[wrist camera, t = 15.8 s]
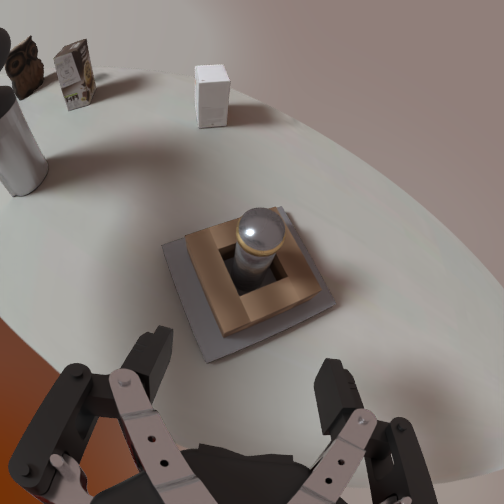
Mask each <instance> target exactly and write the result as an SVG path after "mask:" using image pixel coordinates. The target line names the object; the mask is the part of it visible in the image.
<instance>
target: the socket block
mask: <svg viewBox="0 0 504 504" xmlns="http://www.w3.org/2000/svg"><path fill="white" fill-rule="evenodd" d="M269 209H270V210H272V211H274V212H276V213H277V214H278V215H279V216H280V217H281V215H280V213H279V211H278V210H277V208H276V207H273V208H269ZM240 218H241V217H240ZM240 218H237V219H234V220H231V221H228V222H225V223H222V224H219V225H215V226H212V227H209V228H206V229H203V230H200V231H197V232H194V233H191V234H188V235H185V240H186V246H187V251H188V254H189V256H190V259H191V262H192V264H193V267H194V269H195V272H196V274H197V277H198V279H199V282H200V284H201V287H202V289H203V292H204V294H205V297H206V299H207V301H208V304H209V306H210V309H211V311H212V313H213V316H214V318H215V320H216V323H217V325H218V327H219V330H220V332H221V334H222V336H223V338H224V337H227V336H229V335H232V334H234V333H237V332H239V331H242V330H244V329H246V328H249V327H251V326H253V325H256V324H258V323H260V322H263V321H265V320H267V319H269V318H272V317H274V316H276V315H278V314H281V313H283V312H285V311H287V310H289V309H292V308H294V307H296V306H298V305H300V304H302V303H304V302H307V301H309V300H311V299H312V298H313V297H314V296H315V295H317V294H318V293H319V292H320V291H321V290H322V289H321V287H320V285H319V283H318V281H317V279H316V278H315V276H314V274H313V272H312V270H311V268H310V266H309V265H308V263H307V261H306V259H305V257H304V256H303V254H302V252H301V250H300V248H299V247H298V245H297V243H296V241H295V239H294V238H293V236H292V234H291V232H290V231H289V229H288V227H287V225H286V224H285V222H284V220H283V218H282V217H281V218H282V220H283V222H284V224H285V229H286V237H285V240H284V243H283V245H282V247H281V248H280V249H279V251H277V252H276V254H275V256H274V259H273V261H272V263H271V265H270V269H271V271H272V273H273V275H274V277H275V279H276V282H274V283H272V284H269V285H267V286H264V287H262V288H259V289H257V290H254V291H252V292H249V293H247V294H244V295H242V296H239V295H238V293H237V290H236V288H235V286H234V284H233V282H232V279H231V277H230V275H229V273H228V270H227V268H226V266H225V264H224V261H225V260H227V259H230V258H233V257H234V255H235V248H236V242H237V239H236V228H237V223H238V221H239V219H240Z"/></svg>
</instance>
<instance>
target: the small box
mask: <svg viewBox="0 0 504 504" xmlns="http://www.w3.org/2000/svg"><path fill="white" fill-rule="evenodd" d="M230 82H231V81H230V79H229V76H228V74H227V72H226V69H225V67H224V65H202V66H195V109H196V115H197V121H198V127H199V128H206V127H216V126H226V125H227V115H228V104H229V92H230Z"/></svg>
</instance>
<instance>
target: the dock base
mask: <svg viewBox="0 0 504 504" xmlns="http://www.w3.org/2000/svg"><path fill="white" fill-rule="evenodd" d="M277 210H278V211H279V213H280V215H281V217H282V218H283V220H284V222H285V224H286V225H287V227H288V229H289V231H290V232H291V234H292V236H293V238H294V239H295V241H296V243H297V245H298V247H299V248H300V250H301V252H302V254H303V256H304V257H305V259H306V261H307V263H308V265H309V266H310V268H311V270H312V272H313V274H314V276H315V278H316V279H317V281H318V283H319V285H320V287H321V289H322V290H321V291H320V292H319V293H318V294H317V295H315V296H314V297H313V298H312V299H311V300H309V301H307V302H304V303H302V304H300V305H298V306H296V307H294V308H292V309H289V310H287V311H285V312H283V313H281V314H278V315H276V316H274V317H272V318H269V319H267V320H265V321H263V322H260V323H258V324H256V325H253V326H251V327H249V328H246V329H244V330H242V331H239V332H237V333H234V334H232V335H229V336H227V337H224V338H223V336H222V334H221V332H220V330H219V327H218V325H217V323H216V320H215V318H214V316H213V313H212V311H211V309H210V306H209V304H208V301H207V299H206V297H205V294H204V292H203V289H202V287H201V284H200V282H199V279H198V277H197V274H196V272H195V269H194V267H193V264H192V262H191V259H190V256H189V254H188V251H187V246H186V240H185V237H184V238H181V239H178V240H176V241H173V242H170V243H167V244H164V245H161V246H162V249H163V252H164V255H165V258H166V261H167V264H168V267H169V270H170V273H171V275H172V278H173V281H174V284H175V287H176V289H177V292H178V295H179V297H180V300H181V303H182V305H183V308H184V311H185V313H186V316H187V318H188V321H189V323H190V326H191V328H192V331H193V333H194V336H195V338H196V341H197V343H198V345H199V348H200V350H201V352H202V355H203V357H204V359H205V362H206V363H209V362H212V361H214V360H217V359H219V358H222V357H224V356H227V355H229V354H232V353H234V352H237V351H239V350H241V349H244V348H246V347H248V346H251V345H253V344H255V343H257V342H260V341H262V340H264V339H266V338H269V337H271V336H273V335H275V334H277V333H280V332H282V331H284V330H286V329H288V328H290V327H292V326H294V325H296V324H298V323H300V322H303V321H305V320H307V319H309V318H311V317H313V316H315V315H317V314H318V313H320V312H322V311H324V310H326V309H328V308H330V307H332V306H333V305H335V304H336V302H335V300H334V299H333V297H332V295H331V293H330V291H329V289H328V287H327V285H326V283H325V282H324V280H323V278H322V276H321V274H320V272H319V271H318V269H317V267H316V265H315V263H314V262H313V260H312V258H311V256H310V254H309V253H308V251H307V249H306V247H305V245H304V244H303V242H302V240H301V238H300V237H299V235H298V233H297V231H296V230H295V228H294V226H293V225H292V223H291V221H290V219H289V218H288V216H287V214H286V213H285V211H284V209H283V208H282V206H281V207H277ZM233 261H234V257H233V258H230V259H227V260H225V261H224V264H225V266H226V268H227V270H228V273H229V275H230V277H231V274H232V267H233ZM231 279H232V278H231ZM232 282H233V281H232ZM274 282H276V279H275V277H274V275H273V273H272V271H271V269H270V267H269V269H268V271H267V273H266V275H265V277H264V280H263V282H262V284H261V285H260V286H259V287H258V288H257V289H259V288H262V287H264V286H267V285H269V284H272V283H274ZM233 284H234V283H233ZM234 286H235V285H234ZM235 288H236V290H237V293H238V295H239V296H242V295H244V294H247V293H249V292H252V291H242V290H240V289H238V288H237V287H236V286H235ZM257 289H256V290H257ZM253 291H254V290H253Z"/></svg>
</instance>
